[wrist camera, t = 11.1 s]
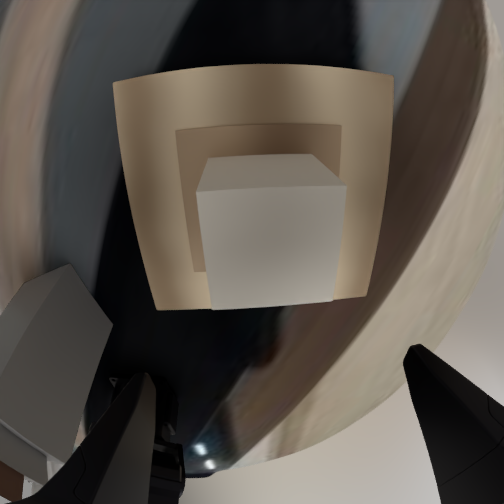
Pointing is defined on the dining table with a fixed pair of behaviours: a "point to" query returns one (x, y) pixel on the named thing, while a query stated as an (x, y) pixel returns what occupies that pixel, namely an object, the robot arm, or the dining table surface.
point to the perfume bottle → (45, 374)
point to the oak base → (249, 143)
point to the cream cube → (270, 229)
